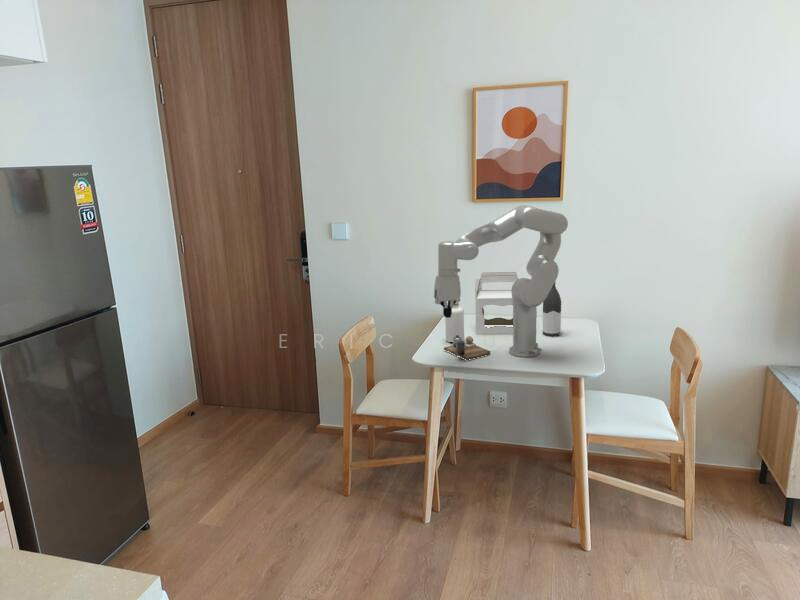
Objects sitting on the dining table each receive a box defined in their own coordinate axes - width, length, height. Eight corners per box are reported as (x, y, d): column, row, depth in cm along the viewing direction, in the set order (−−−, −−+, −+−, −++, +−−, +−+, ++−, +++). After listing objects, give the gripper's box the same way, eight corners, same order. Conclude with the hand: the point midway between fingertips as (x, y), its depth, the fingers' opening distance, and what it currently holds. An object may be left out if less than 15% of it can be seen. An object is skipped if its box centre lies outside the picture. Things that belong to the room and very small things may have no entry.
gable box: (475, 334, 264) (474, 275, 257) (475, 326, 277) (474, 270, 270) (524, 334, 262) (524, 274, 255) (521, 325, 274) (522, 269, 267)
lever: (452, 343, 246) (452, 332, 245) (462, 342, 246) (462, 331, 245) (457, 355, 232) (456, 343, 230) (467, 354, 232) (466, 343, 230)
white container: (465, 338, 259) (464, 300, 255) (462, 344, 252) (461, 305, 247) (447, 337, 262) (446, 300, 257) (444, 343, 254) (443, 304, 249)
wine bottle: (558, 331, 263) (560, 268, 255) (562, 336, 255) (563, 271, 248) (541, 331, 264) (542, 268, 256) (543, 337, 256) (545, 272, 249)
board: (490, 354, 237) (490, 340, 236) (466, 361, 231) (466, 346, 230) (467, 344, 251) (466, 331, 249) (444, 350, 245) (443, 336, 243)
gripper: (460, 269, 230) (460, 312, 235) (426, 272, 225) (426, 316, 230) (469, 272, 223) (468, 317, 228) (434, 275, 219) (433, 321, 223)
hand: (447, 316), depth 229 cm, fingers closed
